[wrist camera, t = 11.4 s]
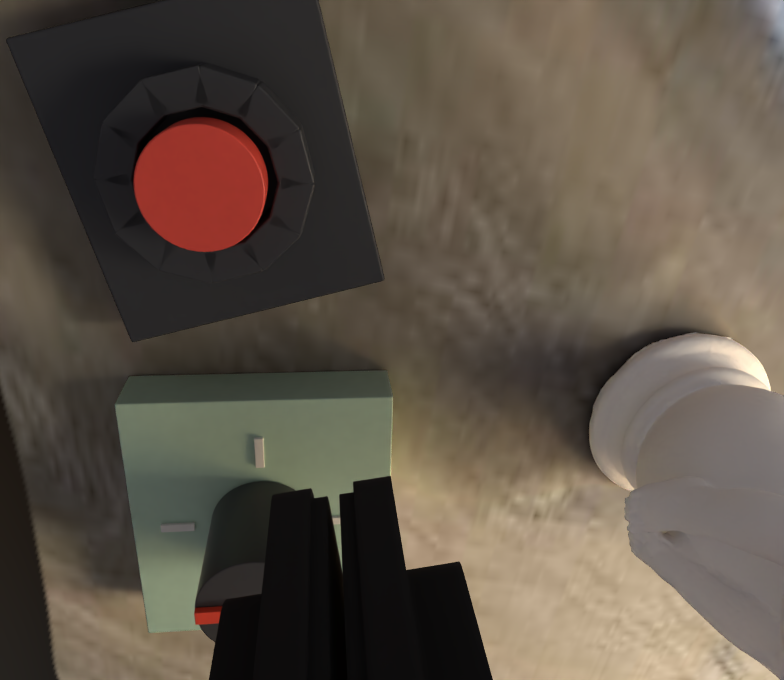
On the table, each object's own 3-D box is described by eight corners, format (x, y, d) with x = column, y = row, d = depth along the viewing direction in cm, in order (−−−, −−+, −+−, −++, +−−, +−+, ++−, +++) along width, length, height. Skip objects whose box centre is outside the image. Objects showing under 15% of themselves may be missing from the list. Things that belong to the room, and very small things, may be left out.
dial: (313, 478, 30) (314, 565, 25) (315, 560, 32) (316, 655, 27) (207, 482, 30) (187, 571, 25) (215, 565, 31) (198, 663, 27)
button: (282, 222, 24) (280, 235, 23) (169, 249, 24) (159, 265, 23) (248, 103, 23) (243, 109, 21) (126, 133, 23) (112, 141, 21)
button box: (380, 263, 29) (390, 297, 26) (143, 321, 29) (120, 364, 25) (309, -31, 25) (310, -41, 21) (28, 37, 24) (-20, 39, 21)
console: (381, 581, 36) (386, 621, 34) (158, 593, 35) (147, 636, 32) (387, 369, 31) (393, 398, 29) (128, 375, 30) (112, 406, 28)
